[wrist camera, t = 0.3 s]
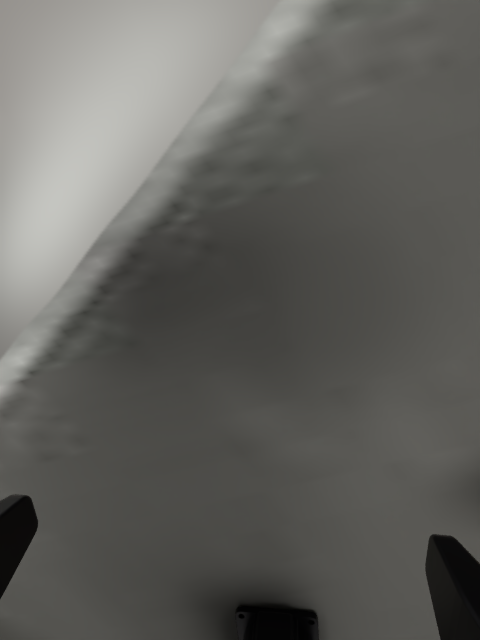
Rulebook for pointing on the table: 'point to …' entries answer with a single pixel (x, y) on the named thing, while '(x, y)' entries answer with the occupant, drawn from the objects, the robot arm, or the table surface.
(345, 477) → the table surface
